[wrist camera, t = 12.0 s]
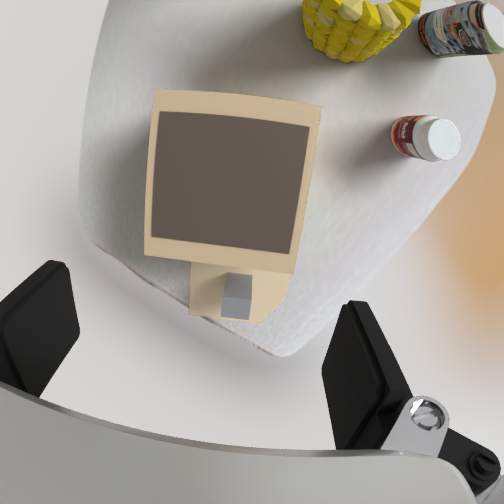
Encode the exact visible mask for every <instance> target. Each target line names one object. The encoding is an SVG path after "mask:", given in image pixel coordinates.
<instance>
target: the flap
mask: <svg viewBox="0 0 504 504" xmlns="http://www.w3.org/2000/svg"><path fill="white" fill-rule="evenodd" d="M289 279H290V274H287V273H279V272H271V271H262V270H254V269H246V268H238V267H231V266H223V265H215V264H207V263H200V262H192V261H191V271H190V296H189V314H190V315H197V316H203V317H211V318H219V319H227V320H235V321H244V322H253V323H261V322H262V321H263V320H264V319H265V318H266V317H267V316H268V315H269V314H270V313H271V312H272V311H273V310H274V309H275V308H276V307H277V306H278V305H279V304H280V303H281V302H282V300H283V299H284V298H285V297H286V295H287V290H288V285H289Z"/></svg>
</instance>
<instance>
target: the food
mask: <svg viewBox="0 0 504 504" xmlns="http://www.w3.org/2000/svg"><path fill="white" fill-rule="evenodd" d="M303 1H304V2H303V6H302V7H301V8H302V10H303V17H302V19H303V23H304V27H305V34H306V36H307V38H308V39H311V40H313V48H315V49H317V50H320V51H322V52H324V53H326V56H328V57H330V58H332V59H339V60H341V61H343V62H345V63H348V62H350V61H352V60H353V62H364V61H365V60H366V58H371V57H372V56H373V55H374V56H377V55H378V53H379V52H380V51H381V50H382V49H384V48H385V47H386V46H388V45H389V44H390V43H391V42H392V40H394V39H396V38H397V37H398V36H400V33H401V32H402V30H403V29H406V28H407V27H408V26H409V25H410V23H411V20H412V18H413V17H415V16H417V14H420V8H421V0H303Z"/></svg>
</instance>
